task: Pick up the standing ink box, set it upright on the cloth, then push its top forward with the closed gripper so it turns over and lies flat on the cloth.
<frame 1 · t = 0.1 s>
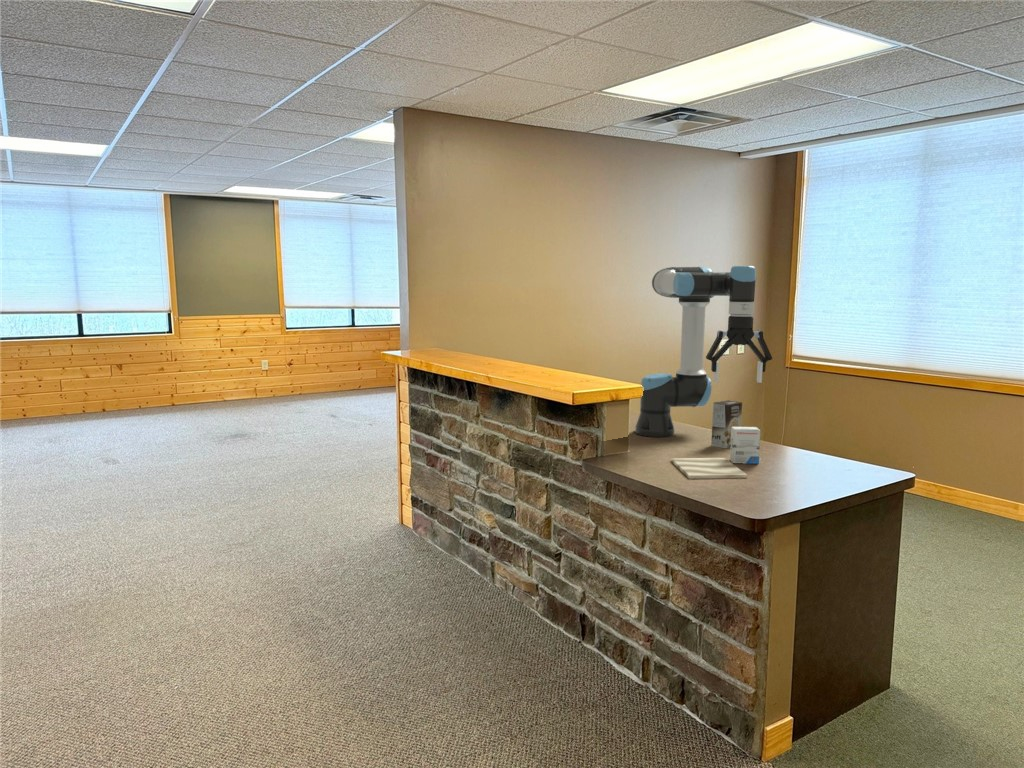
hand: (737, 382, 219), 28 cm above the table, fingers open, 13 cm apart
cloth: (707, 469, 220), on the table
coffee box: (725, 445, 252), on the table
ink box: (743, 462, 229), on the table
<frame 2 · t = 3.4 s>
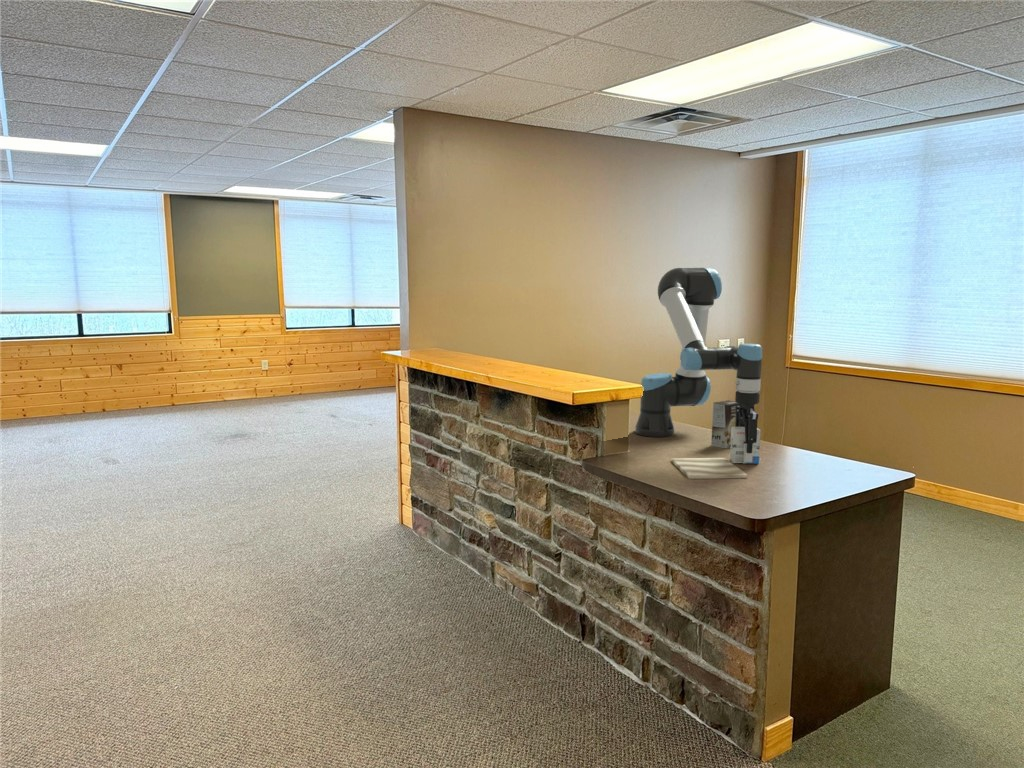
hand: (744, 459, 229), 1 cm above the table, fingers closed on ink box, 5 cm apart
ink box: (743, 462, 229), on the table, touching gripper
everything else where it was.
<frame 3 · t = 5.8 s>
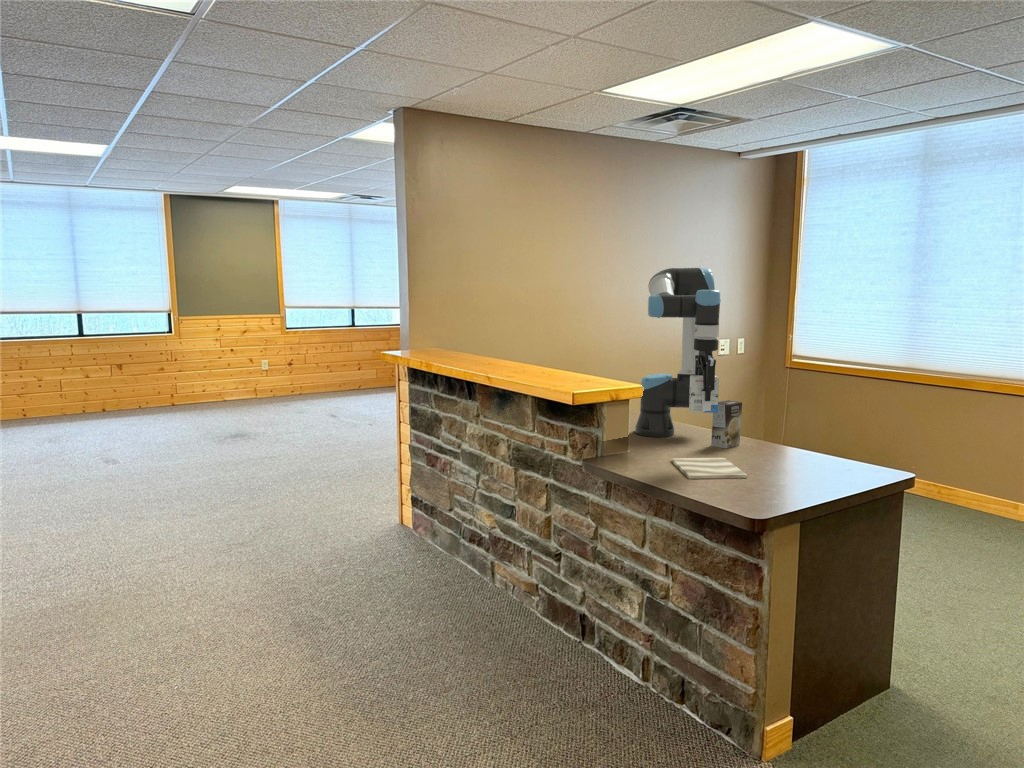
hand: (703, 408, 224), 18 cm above the table, fingers closed on ink box, 5 cm apart
ink box: (703, 412, 224), point 17 cm above the table, touching gripper
everything else where it was.
when the fingers open (2 cm above the table, at t = 8.5 s): ink box stays where it is, resting on cloth.
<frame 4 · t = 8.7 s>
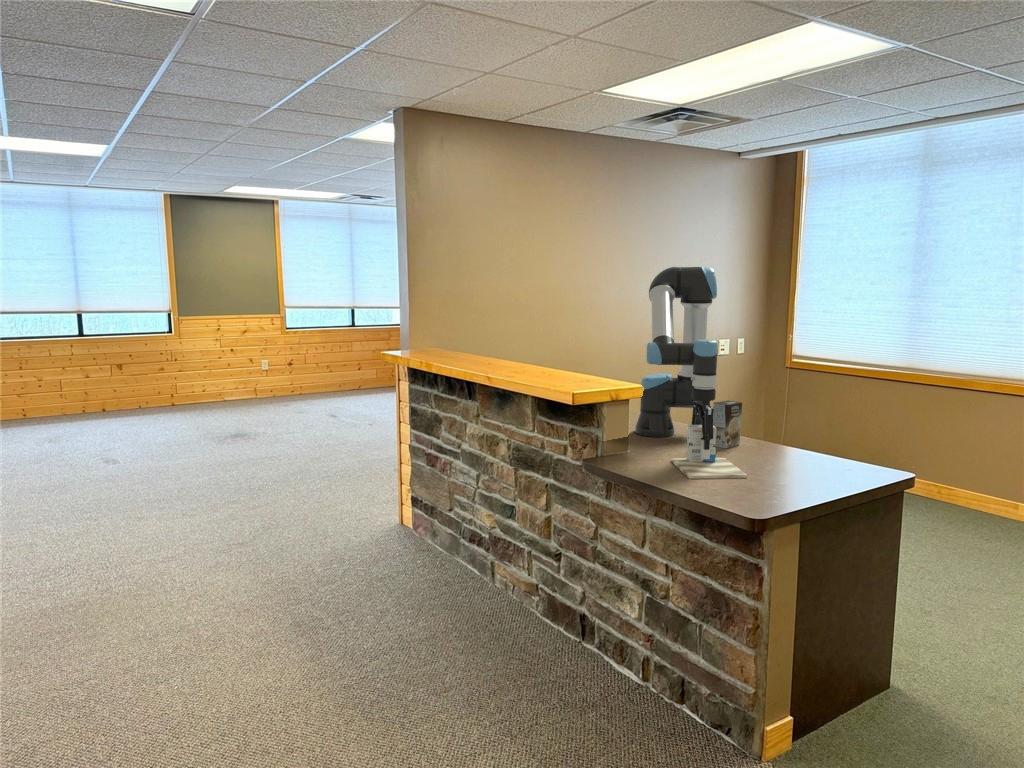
hand: (700, 455, 227), 3 cm above the table, fingers open, 8 cm apart
ink box: (700, 461, 227), point 1 cm above the table, touching cloth
everything else where it was.
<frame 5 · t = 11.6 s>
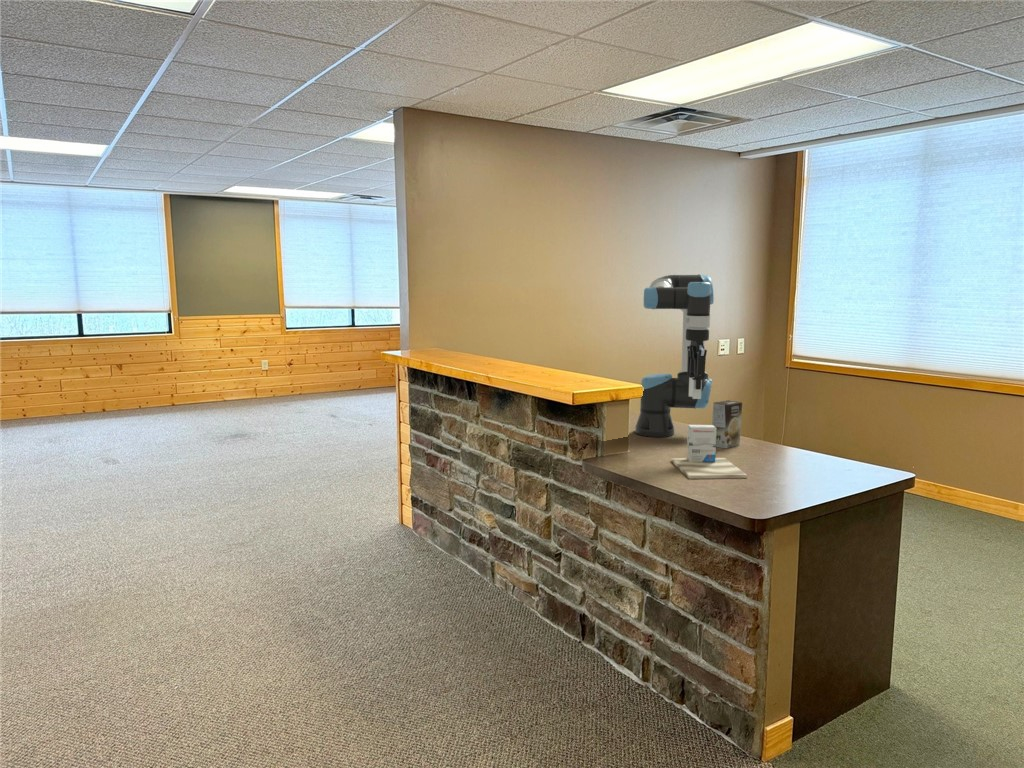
hand: (694, 397, 233), 21 cm above the table, fingers open, 4 cm apart
nothing on the table moved.
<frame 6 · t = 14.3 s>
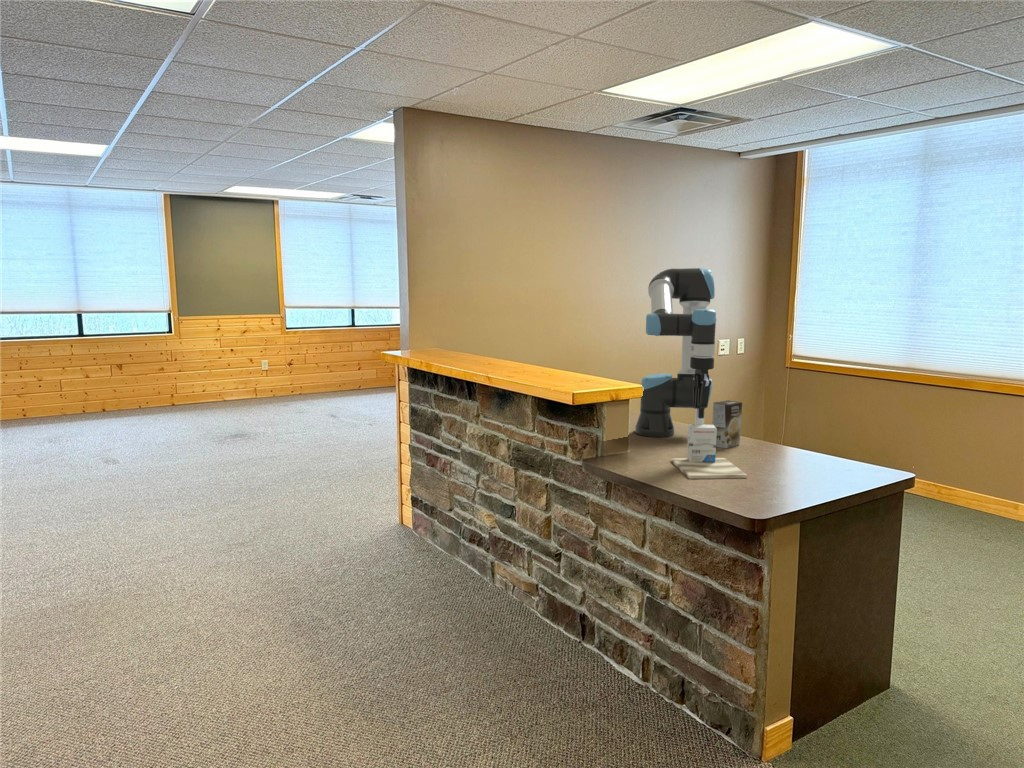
hand: (699, 427, 228), 12 cm above the table, fingers closed
ink box: (700, 460, 227), point 1 cm above the table, touching cloth, gripper
everything else where it was.
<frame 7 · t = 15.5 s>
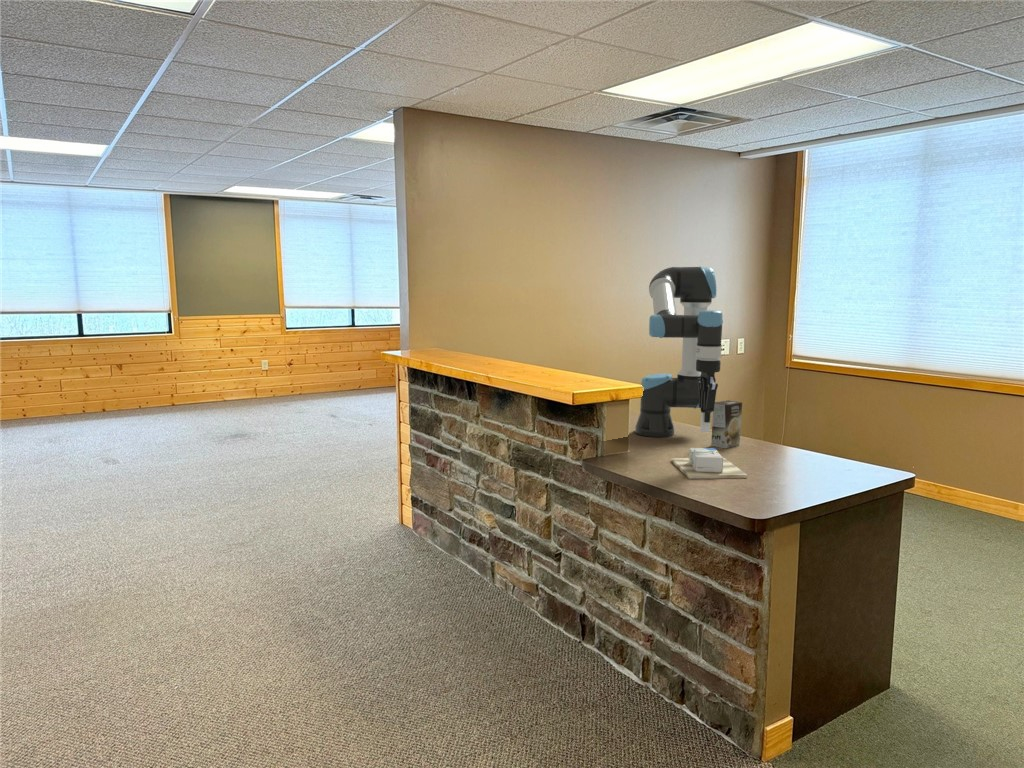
hand: (705, 431, 222), 12 cm above the table, fingers closed
ink box: (701, 455, 225), point 3 cm above the table, touching cloth
everything else where it was.
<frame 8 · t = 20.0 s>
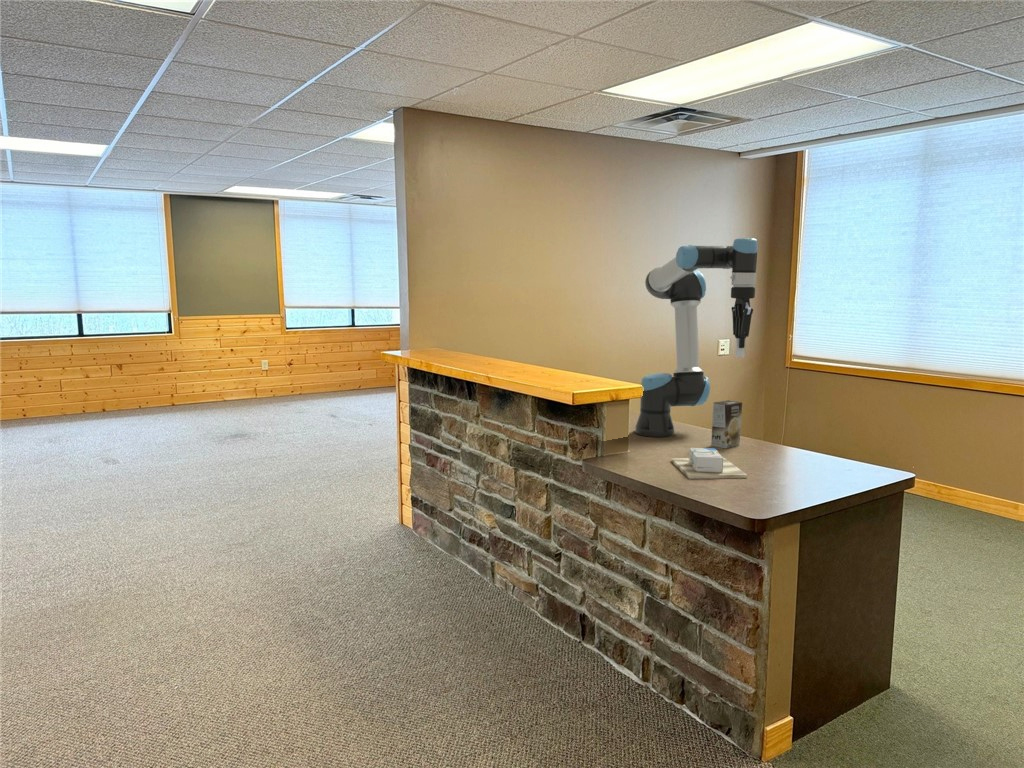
hand: (739, 357, 229), 34 cm above the table, fingers closed
nothing on the table moved.
at the end: ink box tilted 89°; ink box inside the target area on the cloth (4.9 cm from its centre), point 3.4 cm above the cloth's base; the gripper is holding nothing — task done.
